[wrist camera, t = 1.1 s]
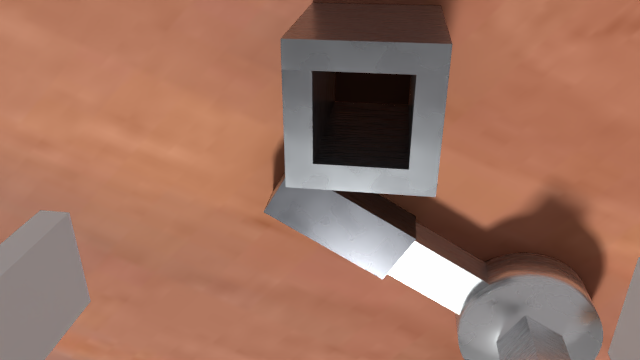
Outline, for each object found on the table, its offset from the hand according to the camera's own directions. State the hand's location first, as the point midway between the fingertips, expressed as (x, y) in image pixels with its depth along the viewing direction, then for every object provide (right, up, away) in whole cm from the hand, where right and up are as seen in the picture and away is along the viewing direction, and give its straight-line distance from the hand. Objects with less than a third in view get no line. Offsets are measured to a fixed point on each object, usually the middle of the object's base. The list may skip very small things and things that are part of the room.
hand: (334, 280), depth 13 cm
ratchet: (+7, -2, +21) cm, 22 cm away
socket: (+2, +8, +16) cm, 18 cm away
